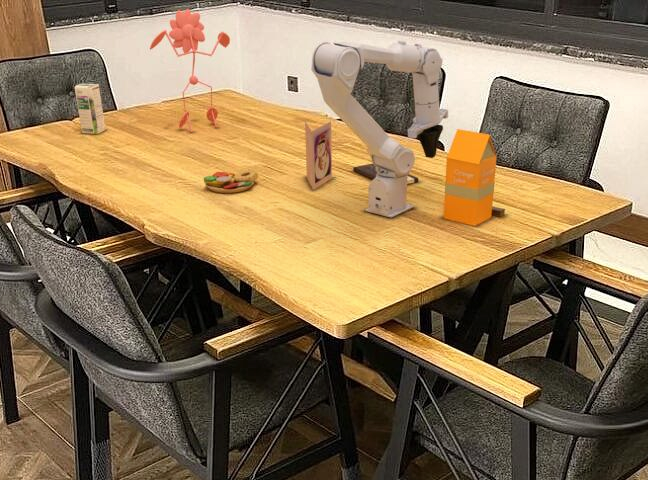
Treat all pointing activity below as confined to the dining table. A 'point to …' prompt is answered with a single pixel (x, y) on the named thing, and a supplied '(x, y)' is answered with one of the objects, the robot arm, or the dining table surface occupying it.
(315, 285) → the dining table surface
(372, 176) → the chocolate bar
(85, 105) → the syrup box
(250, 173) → the toy food set
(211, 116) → the figurine
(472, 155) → the orange juice
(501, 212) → the walnut batten
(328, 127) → the greeting card
